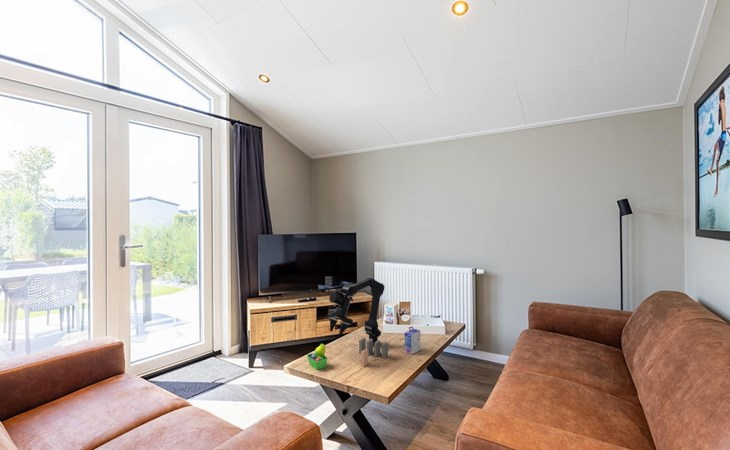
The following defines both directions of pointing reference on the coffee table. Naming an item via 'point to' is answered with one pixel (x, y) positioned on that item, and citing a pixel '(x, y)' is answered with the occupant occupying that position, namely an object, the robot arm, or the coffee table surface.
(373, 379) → the coffee table surface
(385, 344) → the domino
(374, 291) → the robot arm
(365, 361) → the domino
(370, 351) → the domino
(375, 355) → the domino
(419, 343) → the ink cartridge box
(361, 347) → the domino
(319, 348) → the fruit basket
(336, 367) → the coffee table surface
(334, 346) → the coffee table surface
